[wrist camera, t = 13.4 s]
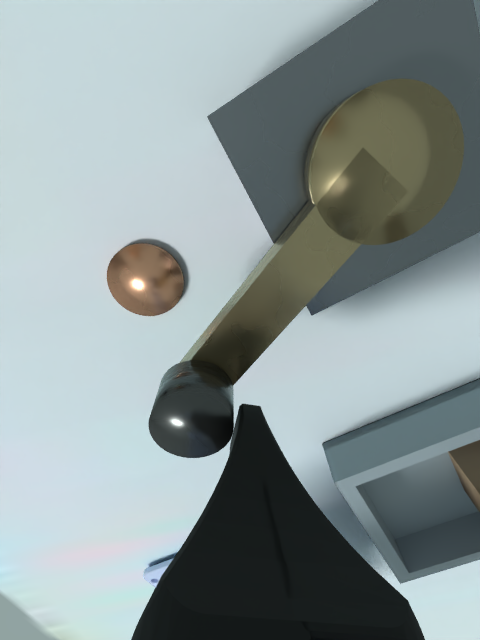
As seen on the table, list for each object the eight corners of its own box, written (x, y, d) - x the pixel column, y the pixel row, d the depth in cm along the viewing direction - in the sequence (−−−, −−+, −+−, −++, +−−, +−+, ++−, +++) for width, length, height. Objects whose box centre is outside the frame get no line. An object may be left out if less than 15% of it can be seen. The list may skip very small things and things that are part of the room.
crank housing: (456, 202, 13) (514, 214, 11) (163, 356, 16) (149, 396, 13) (403, -2, 10) (462, -57, 8) (60, 227, 13) (17, 245, 11)
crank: (376, 48, 9) (435, 3, 6) (470, 153, 10) (554, 152, 7) (136, 371, 13) (112, 424, 10) (221, 419, 14) (219, 477, 11)
